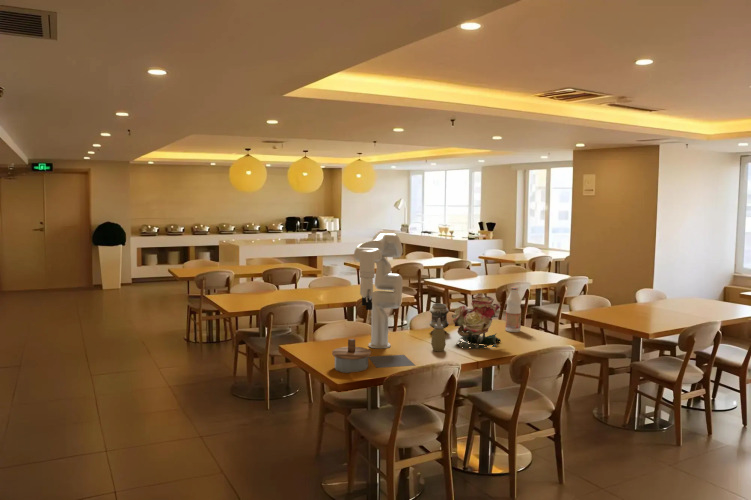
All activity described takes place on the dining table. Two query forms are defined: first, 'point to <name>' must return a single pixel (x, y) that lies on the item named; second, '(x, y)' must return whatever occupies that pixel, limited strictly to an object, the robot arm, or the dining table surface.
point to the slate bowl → (351, 365)
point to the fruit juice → (513, 311)
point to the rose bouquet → (476, 322)
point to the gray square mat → (391, 361)
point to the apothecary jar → (439, 315)
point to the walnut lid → (351, 351)
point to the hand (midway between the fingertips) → (367, 307)
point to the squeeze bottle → (438, 337)
